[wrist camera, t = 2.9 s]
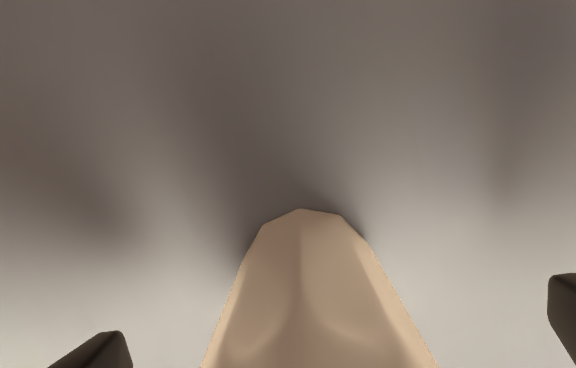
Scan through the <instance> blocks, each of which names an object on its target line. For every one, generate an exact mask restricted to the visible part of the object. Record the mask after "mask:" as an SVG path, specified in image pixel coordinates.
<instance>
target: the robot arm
mask: <svg viewBox="0 0 576 368" xmlns="http://www.w3.org/2000/svg"><path fill="white" fill-rule="evenodd" d="M547 315H548V319H549V322H550V324H551V326H552V328H553V329H554V331H555V333H556V334H557V336H558V338H559V339H560V341H561V342H562V344H563V346H564V347H565V349H566V350H567V352H568V354H569V355H570V357H571V358H572V360H573V362H574V363H575V365H576V273H566V274H559V275H553V276H552V277H551V278H550V279H549V283H548V303H547ZM48 368H133V363H132V360H131V356H130V353H129V350H128V347H127V344H126V341H125V338H124V336H123V334H122V333H121V332H120V331H109V332H101V333H98V334H97V335H95V336H94V337H92V338H91V339H89V340H88V341H86V342H85V343H83V344H82V345H80V346H79V347H77V348H76V349H74V350H73V351H71V352H70V353H68V354H67V355H66V356H64V357H63V358H61V359H60V360H58V361H57V362H55V363H54V364H52V365H51V366H49V367H48Z"/></svg>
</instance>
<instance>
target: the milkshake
mask: <svg viewBox="0 0 576 368" xmlns="http://www.w3.org/2000/svg"><path fill="white" fill-rule="evenodd" d="M200 368H439V366H438V364H437V363H436V361H435V359H434V357H433V356H432V354H431V352H430V350H429V349H428V347H427V345H426V343H425V342H424V340H423V338H422V336H421V335H420V333H419V331H418V329H417V328H416V326H415V324H414V322H413V321H412V319H411V317H410V315H409V314H408V312H407V310H406V308H405V307H404V305H403V303H402V301H401V300H400V298H399V296H398V294H397V293H396V291H395V289H394V288H393V286H392V284H391V282H390V281H389V279H388V277H387V275H386V274H385V272H384V270H383V268H382V267H381V265H380V263H379V261H378V260H377V258H376V256H375V254H374V253H373V251H372V249H371V248H370V246H369V244H368V243H367V242H366V241H365V240H364V239H363V238H362V237H361V236H360V235H359V234H358V233H357V232H356V231H355V230H354V229H353V228H352V227H351V226H350V225H349V224H348V223H347V222H346V221H345V220H344V219H343V218H342V217H341V216H340V215H337V214H331V213H325V212H319V211H313V210H307V209H302V208H298V209H296V210H294V211H292V212H290V213H287V214H285V215H283V216H281V217H279V218H276V219H274V220H272V221H270V222H267V223H265V224H263V225H262V226H261V228H260V230H259V232H258V233H257V235H256V237H255V239H254V241H253V242H252V244H251V246H250V248H249V250H248V251H247V253H246V255H245V257H244V258H243V261H242V263H241V266H240V268H239V271H238V273H237V276H236V278H235V281H234V283H233V286H232V288H231V291H230V293H229V296H228V298H227V301H226V303H225V306H224V308H223V311H222V313H221V316H220V318H219V321H218V323H217V326H216V328H215V331H214V333H213V336H212V338H211V341H210V343H209V346H208V348H207V351H206V353H205V356H204V358H203V361H202V363H201V366H200Z"/></svg>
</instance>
